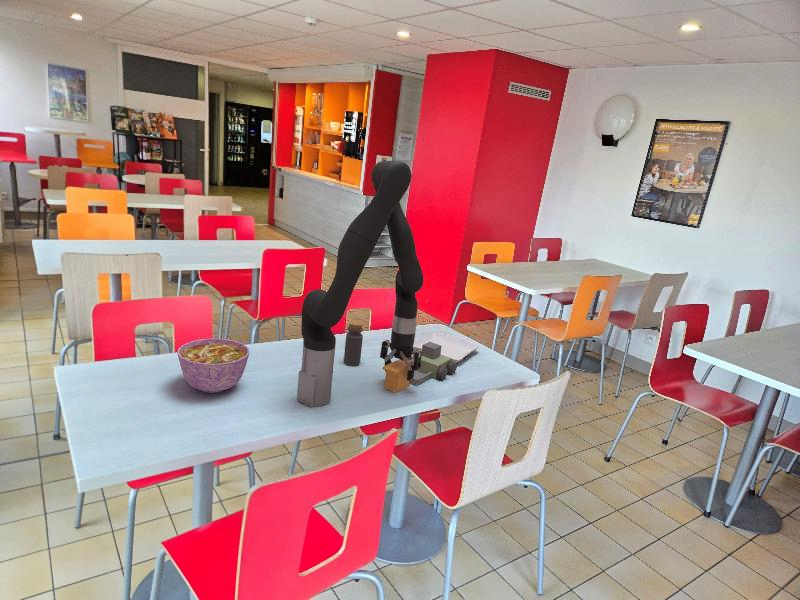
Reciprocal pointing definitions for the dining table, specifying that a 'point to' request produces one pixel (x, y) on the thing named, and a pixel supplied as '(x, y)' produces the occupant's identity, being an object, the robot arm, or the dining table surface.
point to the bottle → (353, 344)
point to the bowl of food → (213, 363)
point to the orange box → (396, 375)
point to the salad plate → (447, 346)
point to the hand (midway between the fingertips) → (398, 375)
